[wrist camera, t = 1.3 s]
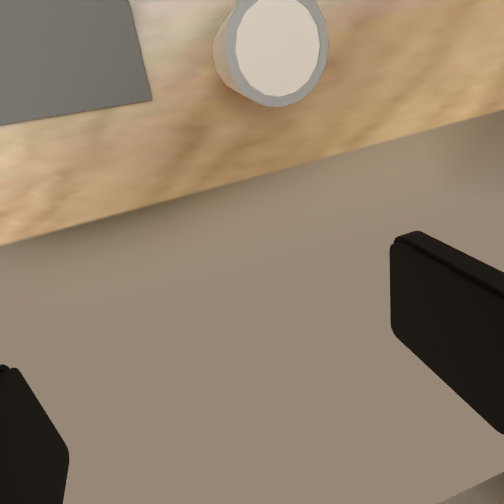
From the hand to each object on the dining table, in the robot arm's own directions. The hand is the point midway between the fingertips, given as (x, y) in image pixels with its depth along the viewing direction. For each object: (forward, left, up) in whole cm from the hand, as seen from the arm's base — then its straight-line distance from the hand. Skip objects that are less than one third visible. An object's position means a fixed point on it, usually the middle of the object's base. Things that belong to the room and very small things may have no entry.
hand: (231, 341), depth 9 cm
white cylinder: (-7, +9, -24) cm, 27 cm away
